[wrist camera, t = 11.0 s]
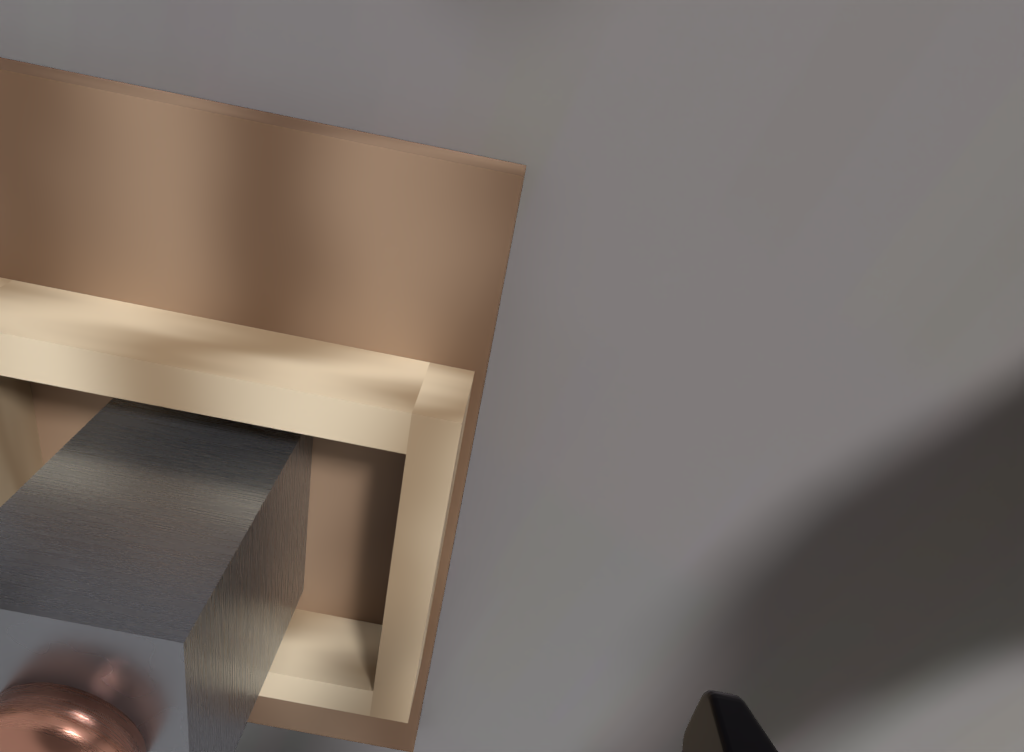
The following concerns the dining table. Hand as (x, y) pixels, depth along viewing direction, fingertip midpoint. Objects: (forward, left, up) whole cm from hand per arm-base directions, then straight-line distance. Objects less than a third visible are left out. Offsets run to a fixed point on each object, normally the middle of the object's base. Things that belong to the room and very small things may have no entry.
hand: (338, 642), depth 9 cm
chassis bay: (+6, +8, -12) cm, 16 cm away
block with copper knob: (+6, +8, -11) cm, 15 cm away
